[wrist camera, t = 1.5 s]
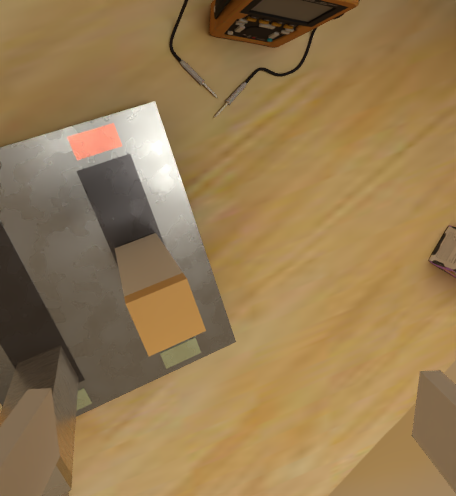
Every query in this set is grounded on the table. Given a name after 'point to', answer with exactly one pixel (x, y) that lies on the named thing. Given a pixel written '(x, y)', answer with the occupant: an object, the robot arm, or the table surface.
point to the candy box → (446, 252)
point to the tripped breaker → (157, 294)
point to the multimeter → (266, 25)
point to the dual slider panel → (91, 266)
